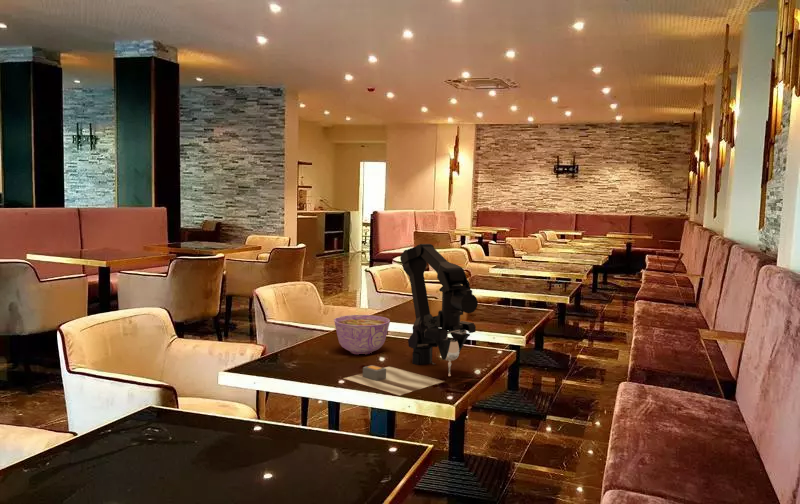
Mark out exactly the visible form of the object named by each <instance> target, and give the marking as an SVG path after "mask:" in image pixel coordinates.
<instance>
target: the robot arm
mask: <svg viewBox="0 0 800 504" xmlns="http://www.w3.org/2000/svg"><path fill="white" fill-rule="evenodd" d="M434 246H435V245H433V244H431V243H419V244H418V245H416V246H414V247H411V248H409V249H404V250H403V252H402V253H401V254H400V263H401V265H402V269H403V271H404V272H405V273H406V275H407V276H408V278H409V283H410V290H411V294H412V295H411V296H412V302H413V308H414V315H415V320H414V323H413V325H412V333H411V335H410V336H409V338H408V339H407V343H408V348H411V349H413V350H412V359H411V360H412V362H411V363H412V364H413V365H417V366H423V365H430V364H432V365H436V362H435V363H434V362H433V348H438V351H439V353H440V357H441V360H444V361H446V360H445V359H446V356H447V353H448V349H449V345H450V341H451V339H456V340H458V344H459V354H460V352H461V350H462V349H463V346H464V345H465V343H466V341H467V339H468V338H469V337H470V336H471V334H472V333H476V332H477V331H476V330H477V328H476V324H475V323H474V322H471V321H464V320H461V316H463V315H464V313H465V314H472V313H473V312H475V311H476V310H477V308H478V305H479V301H478V299H477V297H476V296H475V295H474V294H473V289H471V286H470V285H471V284H470V282H469V280H468V278H467V275H466V272H465V270H464V268H463V267H462V266H460V265H459V264H456V263H452V262H450V261H448V260H447V258H445V257H444V256H443V255H442V254H441V253H439V252H438V251H437V250H436V248H435V247H434ZM428 265H429V266H430V267H431V269H433V270H434V271H435V273H436V274H437V275H436V279H437V280H438V282H439V283H440V285H442V286H441V287H440V288H439V289H438V291H439V292H441V293H442V294H441V310H438V312H437V315H435V316H433V315H432V314H431V310H430V305H429V299H428V292H427V286H426V281H425V276H424V275H425V274H424V273H425V272H426V269H427V266H428ZM467 332H468V333H467ZM449 334H450V335H451V337H452V338H448V335H449Z"/></svg>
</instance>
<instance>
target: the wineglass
mask: <svg viewBox="0 0 800 504" xmlns="http://www.w3.org/2000/svg"><path fill="white" fill-rule="evenodd" d="M450 339H451V341H450V345H449V349H448V353H447V356H446V359H445V360H444V361H448V362H447V366H448V375H447V376H448V377H451V376H452V375H451V366H452V361H455V360H457V359H458V358H459V355H460V353H459V344H458V340H456V339H453V338H450Z"/></svg>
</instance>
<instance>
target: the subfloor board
mask: <svg viewBox="0 0 800 504" xmlns="http://www.w3.org/2000/svg"><path fill="white" fill-rule="evenodd" d="M384 368H385V369H386V379H383V380H379V381H375V380H371V379H368V378H364V377H363V372H362V373H358V374H355V375H351V376H347V377H344V378H343V380H348V381H350V382H352V383H357V384H360V385H364V386H367V387H370V388H373V389H377V390H380V391H384V392H388V393H390V394H393V395H396V396H403V395H405V394H409V393H411V392H416V391H419V390H421V389H425V388H427V387H431V386H433V385H439V384H441V383H444V382H445V380H441V379H438V378H434V377H430V376H427V375H423V374H419V373H415V372H412V371H408V370H405V369H400V368H398V367H397V368H396V367H393V366H385V367H384Z"/></svg>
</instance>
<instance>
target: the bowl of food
mask: <svg viewBox="0 0 800 504" xmlns="http://www.w3.org/2000/svg"><path fill="white" fill-rule="evenodd" d="M333 322H334V325H335V331H336V335H337V339H338V343H339V345H340V346H341V347H342V348H344V349H345V350H346V351H348V352H349V353H350V354H354V355H359V354H365V355H370V353H371V354H373V353H374V352H375V351H377V350H379V349H381V348H382V347H383V345H384V344H385V342H386V338H387V335H388V332H389V331H388V330H389V326H390V322H391V320H390V318H387V317H384V316H380V315H372V314H370V315H369V314H351V315H350V314H349V315H343V316H342V315H341V316H339V317H335V318H334V319H333ZM372 352H373V353H372Z"/></svg>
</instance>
